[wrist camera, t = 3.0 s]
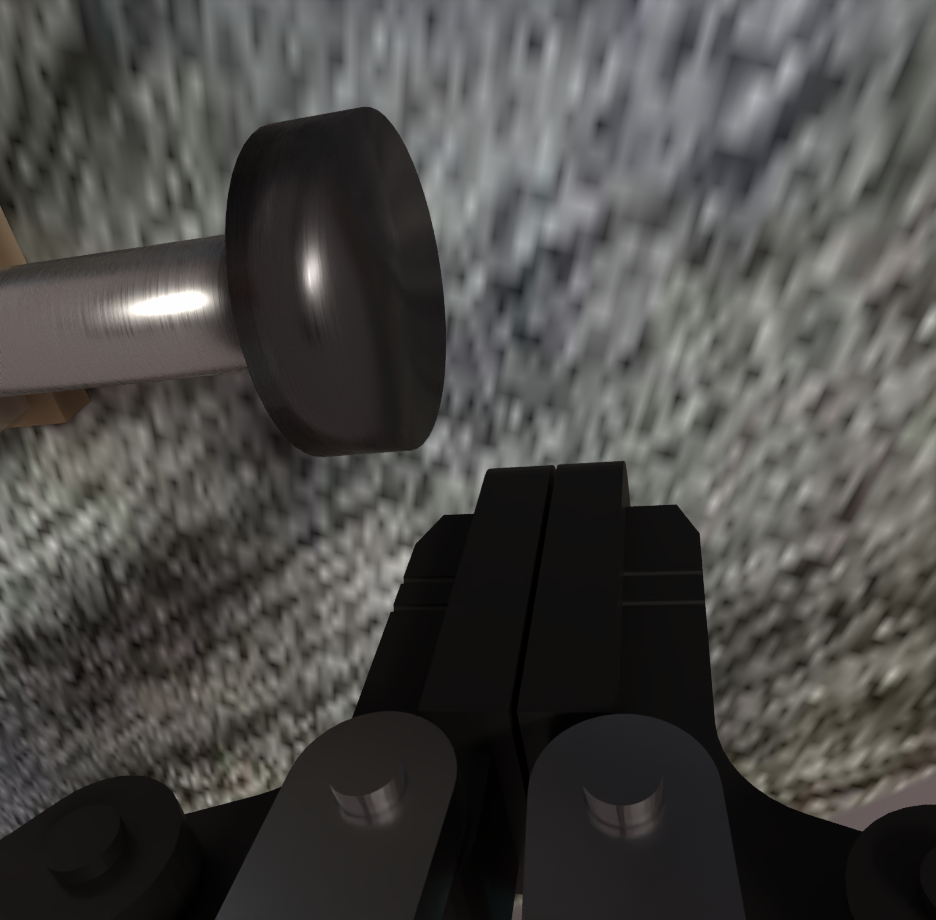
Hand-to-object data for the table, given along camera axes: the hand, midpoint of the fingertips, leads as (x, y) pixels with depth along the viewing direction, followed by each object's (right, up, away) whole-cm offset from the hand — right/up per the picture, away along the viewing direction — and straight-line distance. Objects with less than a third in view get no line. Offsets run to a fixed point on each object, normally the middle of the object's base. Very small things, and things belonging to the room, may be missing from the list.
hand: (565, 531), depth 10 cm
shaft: (-11, +6, +14) cm, 18 cm away
